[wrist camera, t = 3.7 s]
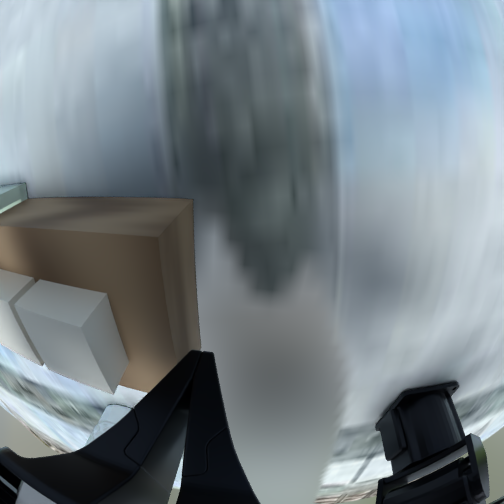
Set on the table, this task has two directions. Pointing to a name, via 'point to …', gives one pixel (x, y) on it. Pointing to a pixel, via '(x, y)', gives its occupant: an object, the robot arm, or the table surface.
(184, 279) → the tan cardboard slab
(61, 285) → the tile
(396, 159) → the table surface
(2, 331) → the tile
